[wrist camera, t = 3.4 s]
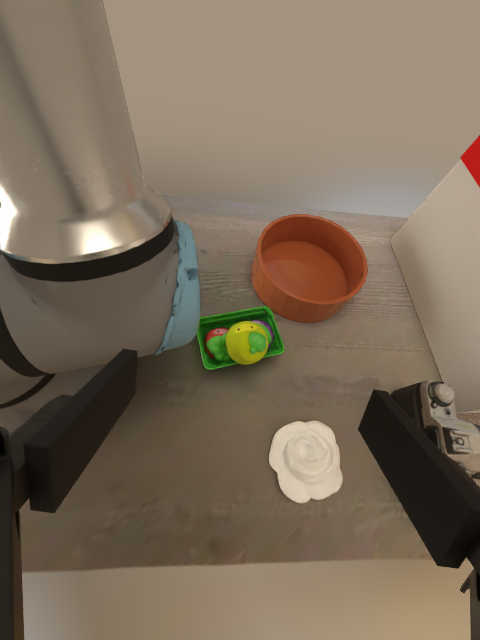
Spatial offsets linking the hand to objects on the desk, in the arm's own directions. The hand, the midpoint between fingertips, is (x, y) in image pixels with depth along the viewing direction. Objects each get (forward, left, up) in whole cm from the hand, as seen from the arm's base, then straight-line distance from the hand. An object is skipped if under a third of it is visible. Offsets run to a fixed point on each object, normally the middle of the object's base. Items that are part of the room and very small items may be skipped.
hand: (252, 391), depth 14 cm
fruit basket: (-3, +10, -24) cm, 26 cm away
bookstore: (+33, +36, -24) cm, 54 cm away
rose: (+11, 0, -24) cm, 26 cm away
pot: (+2, +28, -24) cm, 37 cm away
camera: (+27, +8, -24) cm, 37 cm away
